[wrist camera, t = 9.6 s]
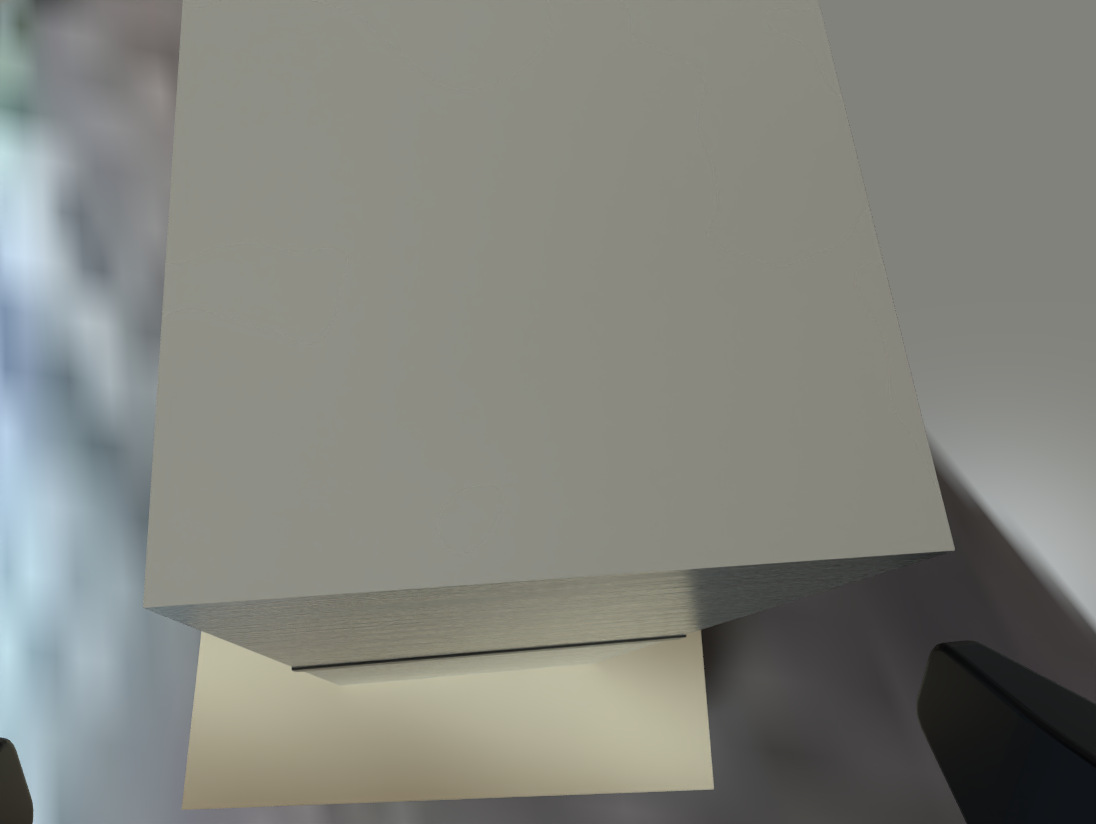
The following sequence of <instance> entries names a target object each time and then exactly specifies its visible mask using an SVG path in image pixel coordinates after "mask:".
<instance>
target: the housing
mask: <svg viewBox="0 0 1096 824" xmlns="http://www.w3.org/2000/svg"><path fill="white" fill-rule="evenodd" d="M952 551H955V548H954V544H953V540H952V536H951V532H950V528H949V524H948V520H947V516H946V512H945V508H944V504H943V500H942V496H941V492H940V488H939V484H938V480H937V476H936V471H935V467H934V463H933V459H932V455H931V451H930V447H929V443H928V439H927V435H926V431H925V427H924V423H923V419H922V415H921V411H920V407H919V403H918V399H917V395H916V391H915V387H914V383H913V379H912V375H911V371H910V367H909V363H908V359H907V355H906V351H905V347H904V343H903V339H902V335H901V331H900V327H899V323H898V319H897V314H896V310H895V306H894V302H893V298H892V294H891V290H890V286H889V283H888V278H887V274H886V270H885V266H884V262H883V258H882V254H881V250H880V246H879V242H878V238H877V234H876V230H875V226H874V222H873V218H872V214H871V210H870V206H869V202H868V198H867V194H866V190H865V186H864V182H863V178H862V174H861V169H860V166H859V161H858V157H857V154H856V150H855V145H854V141H853V138H852V133H851V129H850V125H849V121H848V117H847V113H846V109H845V105H844V101H843V97H842V93H841V89H840V85H839V81H838V77H837V73H836V69H835V65H834V61H833V57H832V53H831V49H830V45H829V41H828V37H827V33H826V29H825V25H824V21H823V17H822V12H821V9H820V4H819V1H818V0H183V7H182V23H181V38H180V53H179V68H178V84H177V99H176V114H175V129H174V145H173V160H172V175H171V190H170V205H169V221H168V236H167V251H166V266H165V282H164V297H163V312H162V327H161V343H160V358H159V373H158V388H157V404H156V419H155V434H154V449H153V465H152V480H151V495H150V510H149V526H148V541H147V556H146V571H145V587H144V602H143V608H145V609H147V610H150V611H152V612H155V613H157V614H160V615H162V616H165V617H168V618H170V619H173V620H175V621H178V622H180V623H183V624H185V625H188V626H190V627H193V628H195V629H198V630H200V631H203V632H205V633H208V634H210V635H213V636H215V637H218V638H220V639H223V640H225V641H228V642H230V643H233V644H236V645H238V646H241V647H243V648H246V649H248V650H251V651H253V652H256V653H258V654H261V655H263V656H266V657H268V658H271V659H273V660H276V661H278V662H281V663H283V664H286V665H288V666H291V667H292V671H294V672H303V671H304V672H306V673H309V674H311V675H314V676H316V677H319V678H321V679H324V680H326V681H329V682H331V683H334V684H336V685H339V686H344V685H356V684H367V683H378V682H390V681H401V680H412V679H424V678H435V677H447V676H458V675H469V674H481V673H492V672H503V671H515V670H526V669H538V668H549V667H560V666H572V665H583V664H593V663H596V662H599V661H603V660H606V659H609V658H612V657H615V656H619V655H622V654H625V653H628V652H631V651H635V650H638V649H641V648H644V647H647V646H651V645H654V644H657V643H660V642H663V641H670V640H679V639H682V638H686V634H689V633H692V632H695V631H699V630H702V629H705V628H708V627H711V626H715V625H718V624H721V623H724V622H727V621H731V620H734V619H737V618H740V617H743V616H747V615H750V614H753V613H756V612H760V611H763V610H766V609H769V608H772V607H776V606H779V605H782V604H785V603H788V602H792V601H795V600H798V599H801V598H804V597H808V596H811V595H814V594H817V593H820V592H824V591H827V590H830V589H833V588H836V587H840V586H843V585H846V584H849V583H852V582H856V581H859V580H862V579H865V578H868V577H872V576H875V575H878V574H881V573H884V572H888V571H891V570H894V569H897V568H901V567H904V566H907V565H910V564H913V563H917V562H920V561H923V560H926V559H929V558H933V557H936V556H939V555H942V554H945V553H949V552H952Z"/></svg>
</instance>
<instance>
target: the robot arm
mask: <svg viewBox="0 0 1096 824" xmlns="http://www.w3.org/2000/svg"><path fill="white" fill-rule="evenodd" d="M917 716H918V719H919V723H920V726H921V728H922V730H923V732H924V734H925V737H926V739H927V741H928V743H929V745H930V747H931V749H932V751H933V753H934V756H935V758H936V760H937V762H938V764H939V766H940V768H941V770H942V772H943V775H944V777H945V779H946V781H947V783H948V785H949V787H950V789H951V791H952V794H953V796H954V798H955V800H956V802H957V804H958V806H959V808H960V810H961V813H962V815H963V817H964V819H965V821H966V823H967V824H1096V704H1095V703H1093V702H1091V701H1089V700H1088V699H1086V698H1084V697H1082V696H1080V695H1078V694H1076V693H1074V692H1072V691H1070V690H1068V689H1066V688H1065V687H1063V686H1061V685H1059V684H1057V683H1055V682H1053V681H1051V680H1049V679H1047V678H1045V677H1044V676H1042V675H1040V674H1038V673H1036V672H1034V671H1032V670H1030V669H1028V668H1026V667H1024V666H1023V665H1021V664H1019V663H1017V662H1015V661H1013V660H1011V659H1009V658H1007V657H1005V656H1003V655H1002V654H1000V653H998V652H996V651H994V650H992V649H990V648H988V647H986V646H984V645H982V644H980V643H978V642H975V641H957V642H947V643H940V644H938V645H936V646H935V647H934V648H933V650H932V651H931V653H930V656H929V659H928V663H927V666H926V670H925V673H924V677H923V680H922V684H921V688H920V691H919V695H918V698H917ZM32 823H33V803H32V799H31V796H30V792H29V789H28V786H27V783H26V780H25V777H24V774H23V770H22V767H21V764H20V761H19V758H18V755H17V752H16V749H15V747H14V745H13V744H12V742H11V741H10V740H8V739H6V738H0V824H32Z"/></svg>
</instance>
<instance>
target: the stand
mask: <svg viewBox="0 0 1096 824" xmlns="http://www.w3.org/2000/svg"><path fill="white" fill-rule="evenodd" d="M709 789H714V785H713V772H712V760H711V748H710V736H709V724H708V711H707V699H706V687H705V675H704V662H703V650H702V638H701V630H699V631H695V632H692V633H689V634H686V638H682V639H679V640H670V641H663V642H660V643H657V644H654V645H651V646H647V647H644V648H641V649H638V650H635V651H631V652H628V653H625V654H622V655H619V656H615V657H612V658H609V659H606V660H603V661H599V662H596V663H593V664H583V665H572V666H560V667H549V668H538V669H526V670H515V671H503V672H492V673H481V674H469V675H458V676H447V677H435V678H424V679H412V680H401V681H390V682H378V683H367V684H356V685H344V686H339V685H336V684H334V683H331V682H329V681H326V680H324V679H321V678H319V677H316V676H314V675H311V674H309V673H306V672H304V671H303V672H294V671H292V667H291V666H288V665H286V664H283V663H281V662H278V661H276V660H273V659H271V658H268V657H266V656H263V655H261V654H258V653H256V652H253V651H251V650H248V649H246V648H243V647H241V646H238V645H236V644H233V643H230V642H228V641H225V640H223V639H220V638H218V637H215V636H213V635H210V634H208V633H205V632H203V631H202V633H201V642H200V651H199V660H198V669H197V678H196V687H195V696H194V705H193V714H192V723H191V731H190V740H189V749H188V758H187V767H186V776H185V785H184V794H183V803H182V810H187V809H213V808H239V807H265V806H291V805H317V804H343V803H370V802H396V801H422V800H448V799H474V798H500V797H526V796H552V795H578V794H604V793H630V792H656V791H683V790H709Z"/></svg>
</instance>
